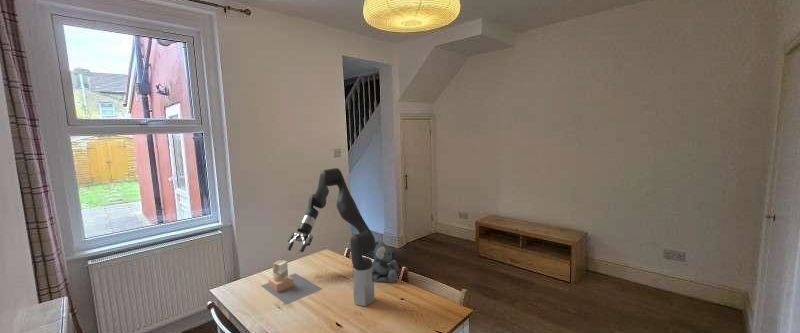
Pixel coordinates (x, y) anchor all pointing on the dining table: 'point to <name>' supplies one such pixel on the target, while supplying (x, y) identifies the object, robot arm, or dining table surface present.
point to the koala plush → (384, 264)
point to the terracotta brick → (280, 284)
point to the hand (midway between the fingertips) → (294, 250)
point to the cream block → (280, 270)
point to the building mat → (294, 289)
